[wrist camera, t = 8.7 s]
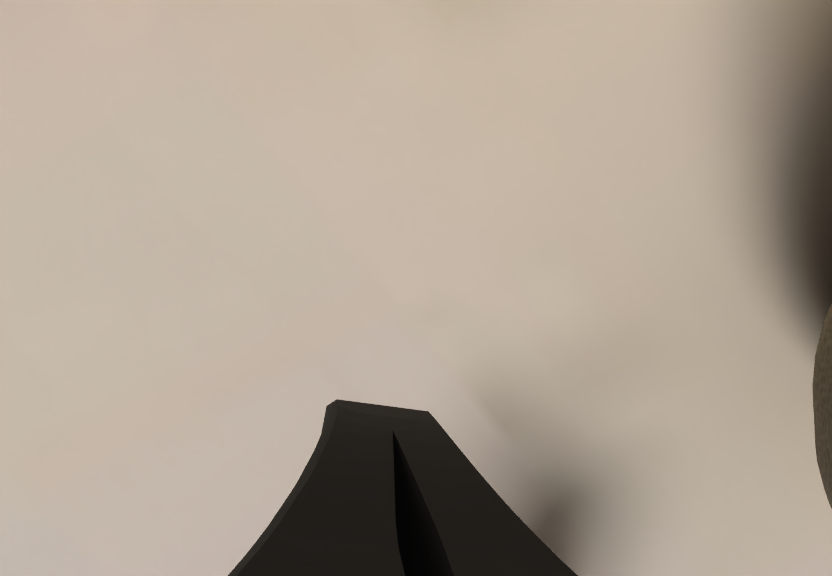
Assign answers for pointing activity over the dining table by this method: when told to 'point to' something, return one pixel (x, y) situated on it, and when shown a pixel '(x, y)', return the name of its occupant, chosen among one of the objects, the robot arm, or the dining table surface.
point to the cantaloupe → (824, 404)
